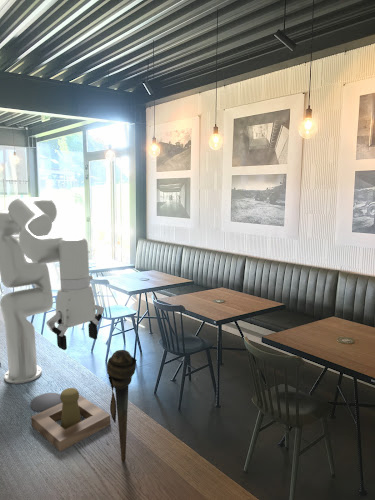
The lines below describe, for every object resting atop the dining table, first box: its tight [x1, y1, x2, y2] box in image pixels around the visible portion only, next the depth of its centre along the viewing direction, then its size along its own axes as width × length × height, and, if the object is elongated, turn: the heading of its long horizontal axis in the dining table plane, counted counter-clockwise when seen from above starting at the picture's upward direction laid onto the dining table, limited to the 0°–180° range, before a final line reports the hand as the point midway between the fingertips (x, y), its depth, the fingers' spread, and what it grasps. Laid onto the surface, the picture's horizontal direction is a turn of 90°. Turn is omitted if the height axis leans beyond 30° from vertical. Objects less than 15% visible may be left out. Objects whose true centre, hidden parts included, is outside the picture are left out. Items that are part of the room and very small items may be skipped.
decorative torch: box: [106, 349, 137, 463], centre depth 96 cm, size 7×7×30 cm
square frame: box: [30, 394, 111, 452], centre depth 113 cm, size 16×16×3 cm
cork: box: [60, 387, 82, 429], centre depth 113 cm, size 6×6×11 cm
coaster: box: [29, 392, 62, 413], centre depth 125 cm, size 10×10×1 cm
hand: (78, 343), depth 108 cm, fingers open, 9 cm apart
